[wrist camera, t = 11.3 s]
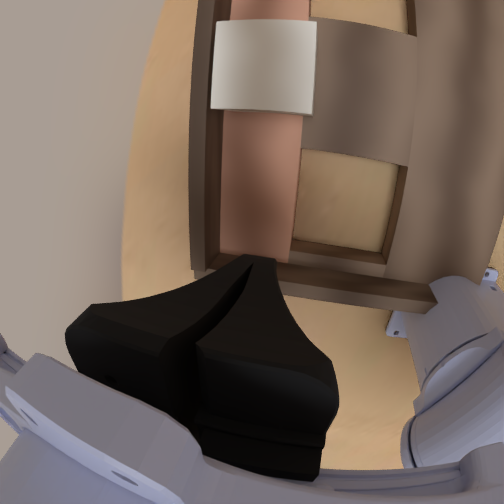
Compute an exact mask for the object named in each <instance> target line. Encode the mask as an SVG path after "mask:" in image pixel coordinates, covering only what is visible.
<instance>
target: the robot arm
mask: <svg viewBox="0 0 504 504" xmlns="http://www.w3.org/2000/svg"><path fill="white" fill-rule="evenodd" d="M276 270H277V260H276V259H275V258H269V257H263V256H256V255H250V254H243V255H241V256H239V257H237V258H236V259H234V260H233V261H231V262H229V263H228V264H226V265H224V266H223V267H221V268H219V269H218V270H216V271H214V272H212V273H210V274H208V275H206V276H205V277H203V278H201V279H199V280H197V281H195V282H192V283H190V284H188V285H185V286H182V287H180V288H177V289H174V290H171V291H168V292H164V293H161V294H157V295H154V296H150V297H146V298H141V299H136V300H130V301H123V302H113V303H102V304H91V305H90V306H89V307H88V308H87V309H86V310H85V311H84V312H83V313H82V314H81V315H80V316H79V317H78V318H77V319H76V320H75V321H74V322H73V323H72V324H71V325H70V326H69V327H68V328H67V329H66V332H65V341H66V346H67V349H68V351H69V354H70V356H71V358H72V360H73V362H74V364H75V366H76V368H77V370H78V372H77V371H75V370H74V369H72V368H70V367H68V366H66V365H64V364H63V363H61V362H59V361H57V360H55V359H54V358H52V357H49V356H46V355H44V354H40V353H35V354H34V355H33V357H31V358H30V359H29V361H27V362H26V361H25V360H23V359H22V358H21V357H19V356H18V355H17V354H15V353H14V352H12V351H11V350H10V349H9V348H8V346H7V344H6V342H5V340H4V338H3V337H2V335H1V334H0V416H1V417H2V418H3V419H4V420H5V421H6V422H7V423H8V424H9V425H10V426H11V427H12V428H13V429H14V430H15V431H16V432H17V433H18V434H19V436H18V438H17V439H16V441H15V442H14V443H13V444H12V446H11V447H10V448H9V450H8V451H7V453H6V454H5V456H4V457H3V458H2V460H1V461H0V504H504V292H503V291H502V290H501V289H500V287H499V286H498V285H497V284H496V279H497V277H498V271H497V270H496V269H493V268H488V267H487V269H486V271H485V273H486V272H487V274H486V275H485V274H484V277H483V279H482V282H481V284H480V286H479V285H477V284H475V283H473V282H472V281H471V280H469V279H467V278H465V277H461V276H447V277H443V278H440V279H438V280H436V281H434V282H432V283H430V284H429V286H430V288H431V290H432V292H433V294H434V296H435V298H436V299H437V301H438V304H437V305H436V306H434V307H433V308H432V309H430V310H429V311H428V312H427V313H426V314H418V313H410V312H401V311H393V313H392V315H391V318H390V320H389V323H388V325H387V328H386V335H387V336H391V337H401V338H407V339H408V342H409V346H410V349H411V353H412V357H413V361H414V365H415V369H416V373H417V378H418V382H419V387H420V391H421V394H420V395H419V396H418V397H417V398H416V399H415V400H414V401H413V404H414V410H415V416H413V417H412V418H410V419H409V420H408V421H407V423H406V424H405V426H404V428H403V430H402V434H401V442H400V453H401V460H402V464H403V467H404V469H391V470H336V469H321V468H320V463H321V455H322V449H323V448H324V446H325V439H326V432H327V430H328V429H329V427H330V425H331V423H332V422H333V420H334V418H335V416H336V414H337V411H338V408H339V391H338V384H337V379H336V375H335V371H334V367H333V364H332V361H331V360H330V359H329V358H328V357H327V356H326V355H325V354H324V353H323V352H322V351H320V350H319V349H318V348H317V347H316V346H315V345H314V344H313V343H312V342H311V341H310V340H309V339H308V338H307V337H306V335H305V334H304V332H303V331H302V330H301V328H300V327H299V326H298V324H297V323H296V321H295V320H294V318H293V316H292V315H291V313H290V311H289V309H288V307H287V305H286V303H285V300H284V298H283V295H282V292H281V289H280V286H279V282H278V278H277V271H276ZM395 331H397V332H395Z"/></svg>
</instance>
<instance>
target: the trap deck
mask: <svg viewBox="0 0 504 504" xmlns="http://www.w3.org/2000/svg"><path fill="white" fill-rule="evenodd" d="M406 1H407V15H408V34H404V33H401V32H397V31H393V30H389V29H385V28H381V27H376V26H371V25H366V24H361V23H355V22H349V21H343V20H335V19H327V18H318V17H310V9H311V0H198V8H197V17H196V27H195V37H194V49H193V62H192V77H191V95H190V119H189V233H190V258H191V270H194V276H195V279H198V280H199V279H201V278H203V277H205V276H206V275H208V274H210V273H212V272H214V271H216V270H218V269H219V268H221V267H223V266H224V265H226V264H228V263H229V262H231V261H233V260H234V259H236V258H237V257H239V256H241V255H243V254H250V255H256V256H263V257H269V258H275V259H276V260H277V270H276V271H277V278H278V282H279V286H280V289H281V292H282V295H288V296H294V297H301V298H307V299H314V300H320V301H327V302H334V303H341V304H348V305H355V306H362V307H370V308H377V309H385V310H393V311H401V312H410V313H418V314H426V313H427V312H428V311H429V310H430V309H432V308H433V307H434V306H436V305H437V304H438V301H437V299H436V298H435V296H434V294H433V292H432V290H431V288H430V286H429V284H430V283H432V282H434V281H436V280H438V279H440V278H443V277H447V276H461V277H465V278H467V279H469V280H471V281H472V282H473V283H475V284H477V285H479V286H480V284H481V282H482V279H483V277H484V274H485V271H486V269H487V266H488V264H489V261H490V258H491V255H492V252H493V249H494V246H495V243H496V240H497V237H498V234H499V230H500V227H501V223H502V220H503V216H504V0H406ZM251 19H281V20H302V21H314V22H317V36H318V50H317V70H316V86H315V100H314V114H313V117H309V116H300V115H290V114H278V113H263V112H242V111H228V110H219V109H211V90H212V73H213V59H214V46H215V33H216V22H217V21H230V20H251ZM302 148H305V149H313V150H320V151H327V152H334V153H340V154H346V155H352V156H358V157H364V158H369V159H374V160H379V161H384V162H389V163H394V164H398V165H400V167H399V173H398V179H397V185H396V190H395V196H394V201H393V206H392V211H391V215H390V220H389V224H388V229H387V233H386V237H385V241H384V245H383V249H382V253H377V252H371V251H364V250H358V249H352V248H345V247H339V246H333V245H326V244H320V243H313V242H306V241H300V240H293V239H292V238H293V229H294V221H295V212H296V203H297V194H298V185H299V175H300V165H301V154H302Z"/></svg>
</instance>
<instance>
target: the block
mask: <svg viewBox="0 0 504 504" xmlns="http://www.w3.org/2000/svg"><path fill="white" fill-rule="evenodd" d="M317 50H318V36H317V22H314V21H302V20H281V19H251V20H230V21H217V22H216V33H215V46H214V59H213V73H212V90H211V109H219V110H228V111H242V112H263V113H278V114H290V115H300V116H309V117H313V114H314V100H315V86H316V70H317Z"/></svg>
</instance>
